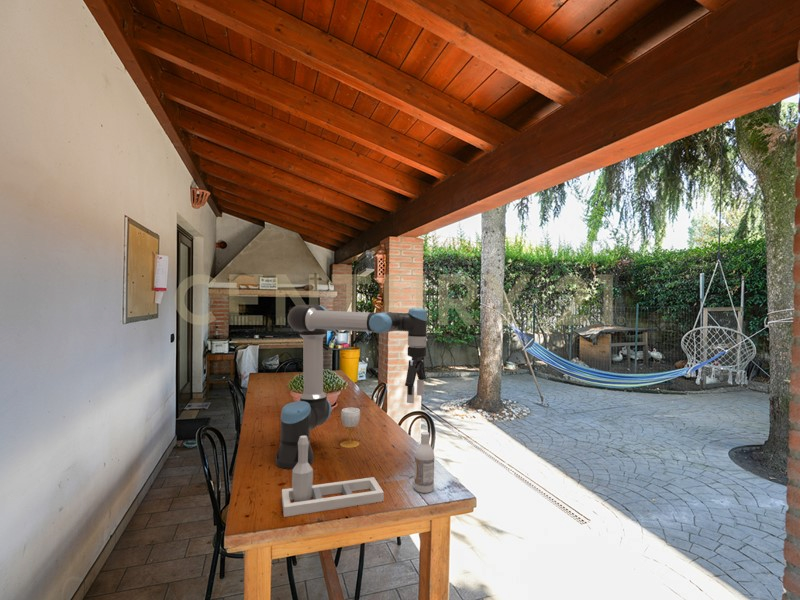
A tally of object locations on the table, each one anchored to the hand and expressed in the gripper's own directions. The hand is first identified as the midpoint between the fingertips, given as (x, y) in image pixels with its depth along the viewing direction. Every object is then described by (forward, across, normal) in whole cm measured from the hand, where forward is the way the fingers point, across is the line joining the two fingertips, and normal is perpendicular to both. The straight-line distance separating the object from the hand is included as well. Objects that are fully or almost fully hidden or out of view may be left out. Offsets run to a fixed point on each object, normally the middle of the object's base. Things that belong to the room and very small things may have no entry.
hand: (415, 399), depth 159 cm
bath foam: (+28, -16, -9) cm, 33 cm away
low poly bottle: (+28, -41, +25) cm, 56 cm away
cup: (+28, +13, +35) cm, 47 cm away
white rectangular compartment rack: (+28, -35, +18) cm, 48 cm away
